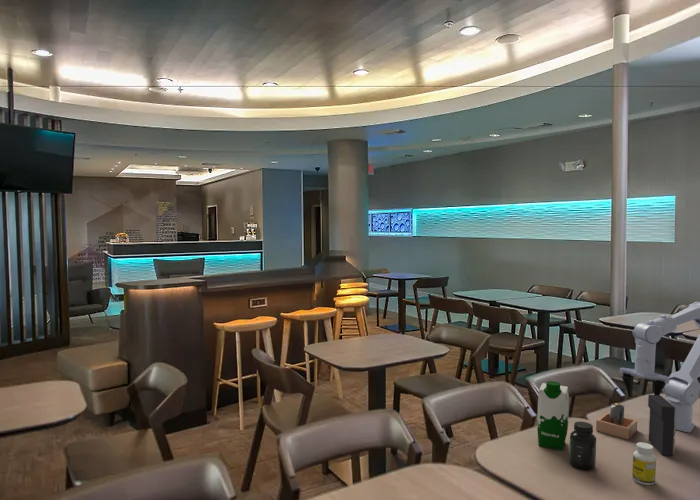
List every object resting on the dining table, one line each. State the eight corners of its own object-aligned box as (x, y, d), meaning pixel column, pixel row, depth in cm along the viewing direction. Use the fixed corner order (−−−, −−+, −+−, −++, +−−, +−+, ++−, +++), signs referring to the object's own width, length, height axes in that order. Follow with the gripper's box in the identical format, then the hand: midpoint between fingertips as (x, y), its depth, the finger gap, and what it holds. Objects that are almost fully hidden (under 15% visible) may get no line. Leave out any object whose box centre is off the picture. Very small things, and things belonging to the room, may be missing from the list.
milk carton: (535, 446, 158) (537, 383, 157) (539, 435, 166) (541, 375, 165) (565, 452, 154) (567, 387, 153) (568, 441, 162) (570, 379, 161)
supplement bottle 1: (564, 464, 147) (565, 423, 146) (576, 457, 151) (578, 418, 150) (587, 473, 141) (589, 431, 141) (599, 466, 145) (601, 425, 145)
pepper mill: (612, 425, 174) (613, 400, 173) (624, 429, 171) (625, 403, 171) (608, 429, 171) (609, 403, 171) (621, 432, 168) (622, 407, 168)
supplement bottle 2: (627, 476, 140) (629, 441, 140) (646, 475, 141) (647, 440, 140) (640, 486, 135) (642, 450, 134) (659, 485, 135) (661, 449, 135)
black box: (675, 456, 152) (678, 407, 151) (659, 455, 153) (662, 406, 152) (661, 441, 163) (663, 395, 162) (646, 440, 164) (648, 394, 163)
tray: (605, 422, 178) (606, 412, 178) (637, 430, 171) (637, 420, 171) (596, 430, 171) (596, 420, 171) (628, 439, 164) (628, 428, 164)
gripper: (617, 357, 173) (615, 396, 173) (666, 366, 163) (664, 408, 163) (624, 353, 178) (622, 392, 179) (672, 362, 168) (669, 403, 168)
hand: (642, 399), depth 171 cm, fingers open, 7 cm apart
